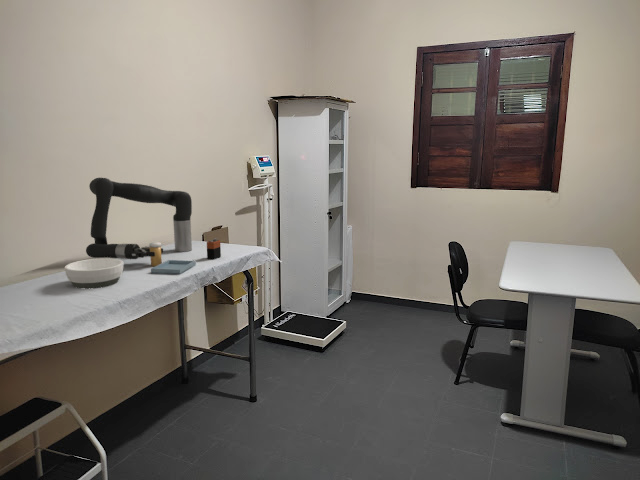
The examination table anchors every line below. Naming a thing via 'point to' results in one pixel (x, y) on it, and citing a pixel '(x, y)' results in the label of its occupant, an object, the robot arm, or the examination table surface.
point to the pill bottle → (157, 249)
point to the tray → (173, 267)
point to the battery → (213, 249)
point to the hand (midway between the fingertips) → (158, 252)
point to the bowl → (94, 272)
